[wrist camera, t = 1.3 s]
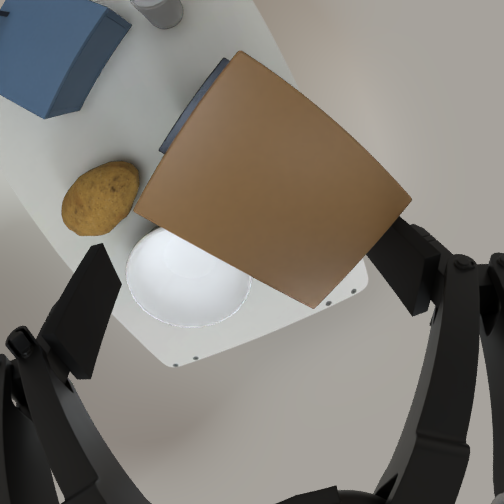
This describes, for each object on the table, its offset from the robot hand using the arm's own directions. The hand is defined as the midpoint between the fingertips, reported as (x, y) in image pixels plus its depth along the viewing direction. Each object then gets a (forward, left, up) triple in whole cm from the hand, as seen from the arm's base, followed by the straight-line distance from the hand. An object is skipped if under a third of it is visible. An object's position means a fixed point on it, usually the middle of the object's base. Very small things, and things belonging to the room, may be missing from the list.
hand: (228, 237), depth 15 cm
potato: (+15, -11, -30) cm, 35 cm away
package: (-4, -1, -8) cm, 9 cm away
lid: (-1, -30, -20) cm, 36 cm away
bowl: (+18, +6, -30) cm, 36 cm away
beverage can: (-12, -18, -30) cm, 37 cm away
